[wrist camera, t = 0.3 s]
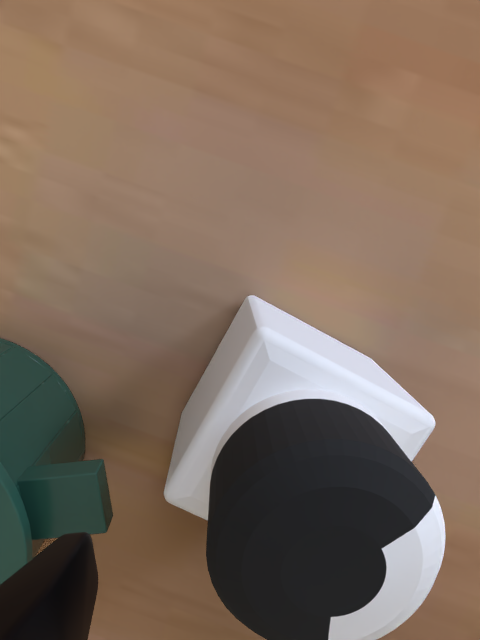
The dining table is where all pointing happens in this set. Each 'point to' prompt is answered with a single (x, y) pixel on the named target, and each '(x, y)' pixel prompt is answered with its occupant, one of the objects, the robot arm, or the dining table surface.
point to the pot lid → (12, 529)
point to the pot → (48, 450)
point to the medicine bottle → (307, 483)
